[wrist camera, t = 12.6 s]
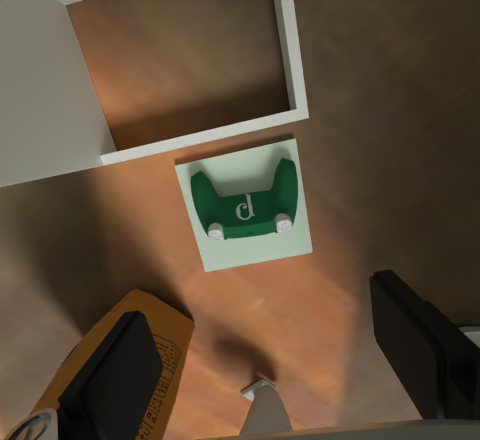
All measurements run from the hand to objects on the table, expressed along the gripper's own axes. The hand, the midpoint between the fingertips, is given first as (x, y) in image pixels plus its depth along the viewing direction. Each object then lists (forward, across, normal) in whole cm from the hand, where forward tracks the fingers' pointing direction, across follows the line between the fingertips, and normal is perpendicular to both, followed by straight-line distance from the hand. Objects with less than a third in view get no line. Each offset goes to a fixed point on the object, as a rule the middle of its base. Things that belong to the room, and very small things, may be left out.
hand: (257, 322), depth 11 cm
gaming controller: (+15, 0, -2) cm, 15 cm away
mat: (+16, +1, -1) cm, 16 cm away
